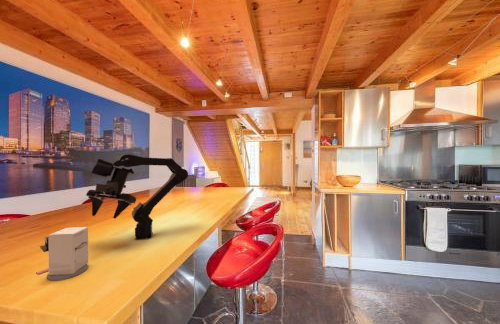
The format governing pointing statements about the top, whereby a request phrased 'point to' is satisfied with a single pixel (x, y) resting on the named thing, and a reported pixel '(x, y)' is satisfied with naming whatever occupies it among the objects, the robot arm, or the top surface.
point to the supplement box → (68, 250)
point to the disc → (66, 276)
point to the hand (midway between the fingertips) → (103, 217)
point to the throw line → (42, 271)
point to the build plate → (46, 246)
